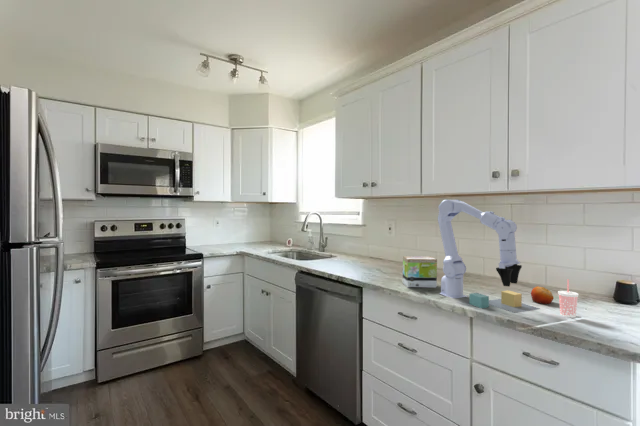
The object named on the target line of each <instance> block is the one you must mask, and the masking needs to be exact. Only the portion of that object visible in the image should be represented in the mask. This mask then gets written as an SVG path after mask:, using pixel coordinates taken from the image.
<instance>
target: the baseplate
mask: <svg viewBox="0 0 640 426" xmlns="http://www.w3.org/2000/svg"><path fill="white" fill-rule="evenodd" d="M489 306H492V307H495V308H498V309H502V310H504V311H507V312H510V313H513V314H516V313H517V314H518V313H522V312H523V313H524V312H529V311H536V310H541V308H539V307H535V306H534V305H533V306H532V305H530V304H526V303H523V302H522V306H520V307H511V306H508V305H505V304H502V303H501V298H496V299H489Z"/></svg>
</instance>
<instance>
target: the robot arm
mask: <svg viewBox="0 0 640 426" xmlns="http://www.w3.org/2000/svg"><path fill="white" fill-rule="evenodd" d="M437 208H438V215H437V223H438V226H439V232H440V236H441V242H442V246H443V251H444V254H445V257H444V259H443V262H442V263H443V266H442V272H443V274H444V275H443V276H442V277H441V278H440V279H441V280H440V292H439V295H441V296H444V297H449V298H452V299H460V298H465V297H467V298H468V296H469V295H468V296H467V295H464V275H465V273H466V271H467V266H466V264H465V263H464V261H463V258H462V257H461V256H460V254H459V252H458V251H459V250H458V249H457V248H458V247H457V243H456V238H455V234H454V230H453V226H452V220H453V219H454V218H455V217H456V216H457V215H459V214H460V213H462V212H463V213H465V214H467V215H469V216H471V217H474V218H476V219H479V221H480V224H481V225H484V226H486V227H487V228H490V229H492V230H494V231H495V232H496V234H497V235H498V244H499V245H498V246H499V258H500V260H499V263H498V267H496V268H495V271H496V272H497V274H498V275H499V277H500V280H501V282H502V285H503V287H510V286H511V284H517V283H518V281H519V275H520V271H521V269H522V267H523V265H522V264H521V261H519V259H517V246H516V244H517V243H516V235H515V232H517V229H518V227H517V224H516V222H515V221H513V220H512V219H506V217H504V216H499V215H497V214H495V212H494V211H492V210H490V211H489V210H488V211H487V210H486V211H484V212H483V211H482V210H481V209H478V208H476V207H475V206H473V205H470V204H469V203H466V202H465V201H463V200H462V201H461V200H460V199H443V200H442V201H441V202H440V204H439V205H438V207H437Z"/></svg>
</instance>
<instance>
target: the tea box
mask: <svg viewBox="0 0 640 426" xmlns="http://www.w3.org/2000/svg"><path fill="white" fill-rule="evenodd" d="M437 271H438V259H436V258H434V257H433V256H426V255H425V256H424V255H423V256H420V255H418V256H417V255H416V256H414V255H412V256H411V255H409V256H407V255H406V256H405V255H404V256H402V284H403V285H404V286H405V287H406V288H432V289H433V288H435V289H436V288H437V285H438V284H437V283H438V282H437V280H438V279H437V277H438V276H437V274H438V273H437Z"/></svg>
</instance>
